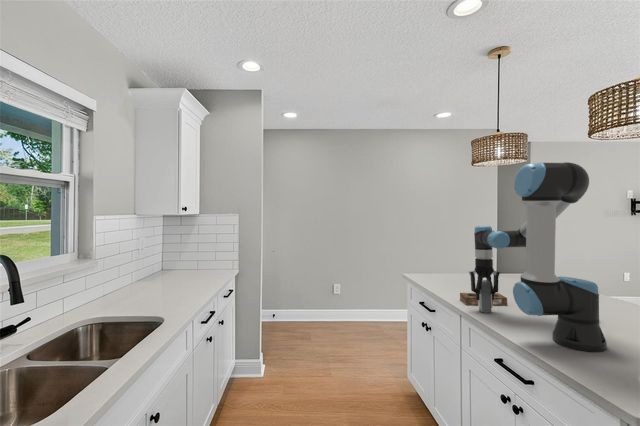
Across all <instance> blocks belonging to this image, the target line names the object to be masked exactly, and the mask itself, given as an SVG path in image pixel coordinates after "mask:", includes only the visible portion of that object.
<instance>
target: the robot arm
mask: <svg viewBox="0 0 640 426" xmlns="http://www.w3.org/2000/svg"><path fill="white" fill-rule="evenodd" d="M589 186H590V176H589V174H588V172H587V170H586V169H585V168H584V167H583V166H581V165H580V164H577V163H574V162H568V161H567V162H535V163H534V162H533V163H526V164H524V165H523V166H522V167H521V168H520V169H519V170H518V171H517V173H516V175H515V178H514V184H513V187H514V191H515V193H516V195H517V196H519V197H520V198H521V202H522V203H523V204H525V206H526V219H525V220H526V221H524V223H523V224H521V226H520V227H519V229H517V230H493V227H492V226H490V225H477V226H475V227H474V234H473V235H474V257H475V259H474V260H475V261H474V265H475V267H474V269H473V270H472V271H471V270H470V271H468V274H469V276H470V286H471V287H470V289H471V292H472V293H476V300H478V305H477V306H478V308H479V307H480V308H482V297H481V293H480V289H481V283H482V280H484V279H485V280H488V281H489V283H491V309H493V306H492V300H494V294H495V293H499V276H500V274H501V273H500V271H497V270H495V269H494V263H493V262H494V260H493V258H494V255H493V248H494V249H505V248H525V270H524V272H523V273H521V274H520V281H517V282H516V283H514V285H513V288H512V295H513V299H514V302H515V304H516V306H517V307H518V309H520V311H521V312H522V313H524V314H525V315H528V316H538V317H541V316H557V320H556V323H555V326H554V328H553V330H552V341H554V342H555V343H556V344H557V345H561V346H562V347H566V348H569V349H573V350H577V351H584V352H591V353H592V352H593V353H596V352H605V351H606V350H607V348H608V347H607V346H608V345H607V340H606V338H605V336H604V333H603V331H602V328H601V326H600V325H601V324H600V294H599V286H598V284H596V283H595V282H593V281H590V280H587V279H581V278H576V277H575V278H574V277H570V276H557V275H556V273H555V271H556V269H555V267H556V230H557V229H556V224H557V222H556V219H557V218H558V217H560V215H561V214H562V213H563V212H564V211H565V210H566V209H567V208H568V207H569V206H570V205H571V204H575V203H577V202H578V201H580V200H581V199H582V197H584V195H585V194H586V192H587V191H588V189H589ZM476 275H477V279H476ZM492 275H493V282H492Z"/></svg>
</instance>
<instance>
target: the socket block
mask: <svg viewBox="0 0 640 426" xmlns="http://www.w3.org/2000/svg"><path fill="white" fill-rule="evenodd" d="M459 301H460V302H462V303H463V304H464V305H466V306H478V300H476V293H475V292H459ZM493 306H497V307H502V306H504V307H508V298H507V297H506V296H504V295H503V294H501V293H499V292H496V293H495V294H494V300H492V307H493Z"/></svg>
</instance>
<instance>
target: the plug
mask: <svg viewBox="0 0 640 426" xmlns="http://www.w3.org/2000/svg"><path fill="white" fill-rule="evenodd" d="M480 293H481V297H482V308H480V307H478V311H480V312H481V313H485V314H486V313H488V314H492V308H491V283H489V281H488V280H487V279H483V280H482V283H481V289H480Z"/></svg>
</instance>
